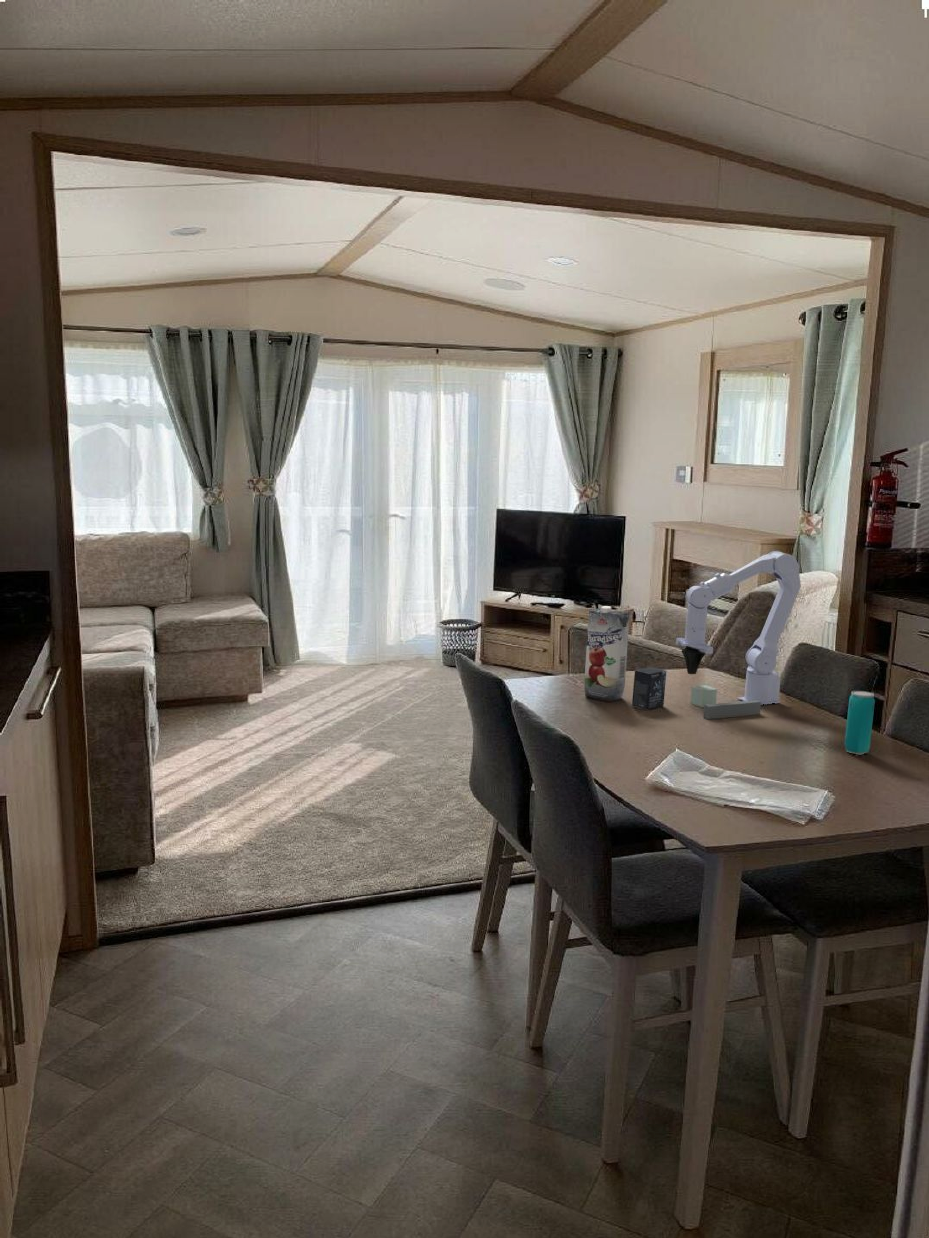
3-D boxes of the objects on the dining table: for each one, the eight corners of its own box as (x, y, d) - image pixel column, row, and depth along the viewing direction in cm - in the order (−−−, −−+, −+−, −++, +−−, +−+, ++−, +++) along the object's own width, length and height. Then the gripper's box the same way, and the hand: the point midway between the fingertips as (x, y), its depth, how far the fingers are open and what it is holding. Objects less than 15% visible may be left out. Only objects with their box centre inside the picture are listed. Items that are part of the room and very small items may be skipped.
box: (647, 710, 274) (650, 673, 272) (631, 706, 278) (633, 669, 276) (664, 706, 279) (667, 669, 278) (647, 702, 283) (650, 666, 282)
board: (755, 712, 277) (756, 700, 276) (759, 714, 275) (761, 701, 274) (703, 717, 269) (704, 704, 269) (708, 719, 267) (709, 706, 267)
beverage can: (868, 751, 243) (874, 692, 241) (869, 757, 238) (876, 697, 235) (843, 748, 245) (849, 689, 243) (844, 754, 240) (850, 694, 237)
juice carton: (594, 691, 293) (600, 602, 288) (626, 698, 287) (633, 606, 282) (580, 697, 286) (585, 605, 281) (612, 703, 280) (619, 609, 275)
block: (704, 702, 286) (705, 685, 286) (715, 706, 282) (717, 689, 281) (690, 703, 284) (691, 686, 284) (701, 707, 280) (702, 690, 279)
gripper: (669, 623, 290) (665, 669, 292) (700, 632, 277) (696, 680, 279) (688, 622, 293) (684, 667, 295) (720, 631, 280) (716, 678, 282)
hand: (691, 673), depth 287 cm, fingers closed
